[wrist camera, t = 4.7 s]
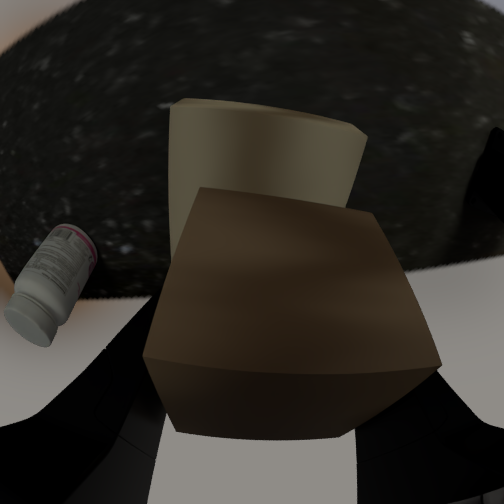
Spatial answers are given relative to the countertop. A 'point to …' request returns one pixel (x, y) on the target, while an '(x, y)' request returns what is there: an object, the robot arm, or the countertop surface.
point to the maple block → (257, 155)
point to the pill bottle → (51, 284)
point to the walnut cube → (283, 321)
